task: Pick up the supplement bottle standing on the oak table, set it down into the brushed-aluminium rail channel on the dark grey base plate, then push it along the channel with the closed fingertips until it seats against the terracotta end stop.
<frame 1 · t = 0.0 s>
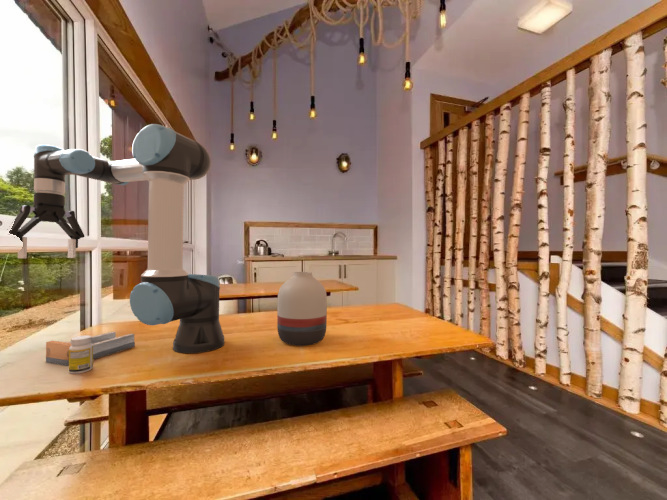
hand: (48, 258, 100), 28 cm above the table, tool pointing down, fingers open, 13 cm apart
supplement bottle: (80, 371, 77), on the table
vase: (301, 341, 105), on the table
rail: (93, 353, 90), on the table
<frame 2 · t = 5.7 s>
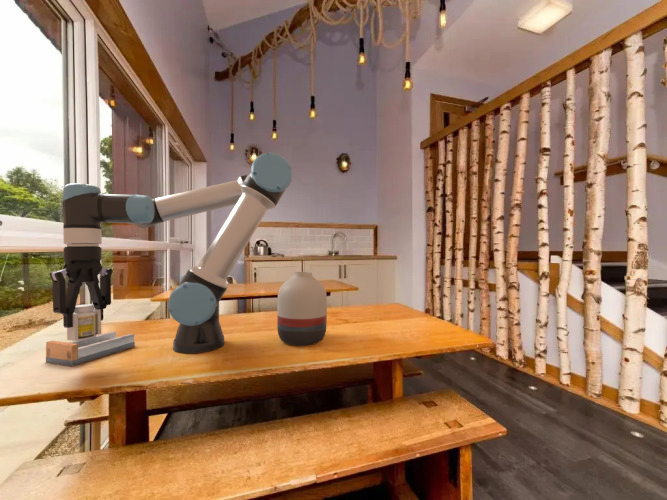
hand: (84, 336, 77), 8 cm above the table, tool pointing down, fingers closed on supplement bottle, 5 cm apart
supplement bottle: (84, 339, 77), point 8 cm above the table, touching gripper
everything else where it was.
when the fingers open (2 cm above the table, at t = 10.1 s): supplement bottle stays where it is, resting on rail.
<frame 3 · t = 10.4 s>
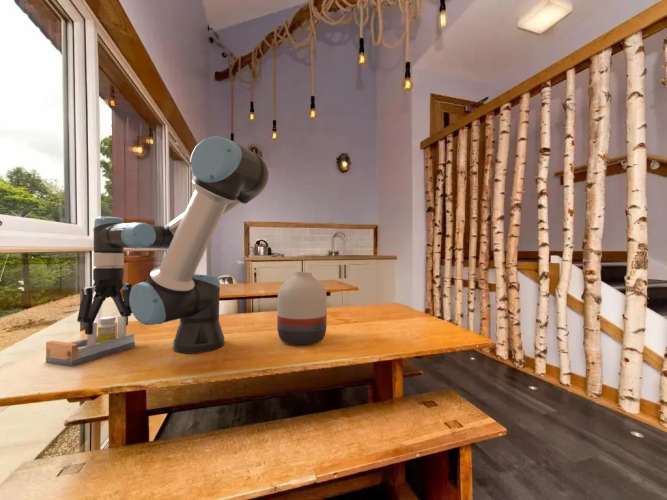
hand: (107, 340, 93), 3 cm above the table, tool pointing down, fingers open, 8 cm apart
supplement bottle: (107, 345, 93), point 1 cm above the table, touching rail
everything else where it was.
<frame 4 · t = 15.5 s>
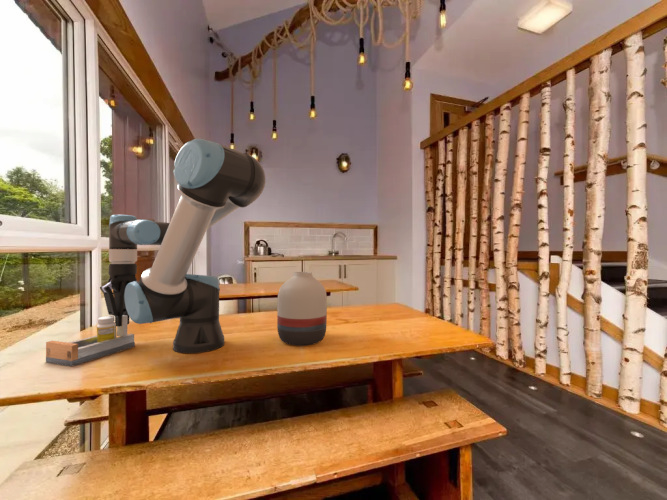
hand: (122, 335, 98), 3 cm above the table, tool pointing down, fingers closed
supplement bottle: (107, 345, 93), point 1 cm above the table, touching gripper, rail
everything else where it was.
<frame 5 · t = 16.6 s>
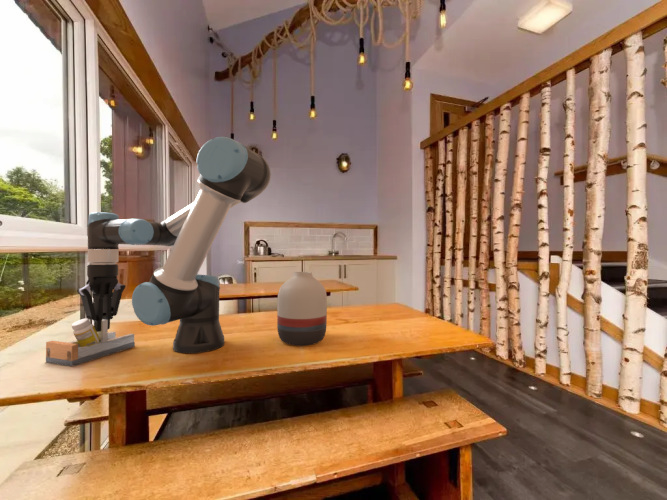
hand: (101, 341, 92), 3 cm above the table, tool pointing down, fingers closed
supplement bottle: (92, 346, 89), point 2 cm above the table, touching gripper
everything else where it was.
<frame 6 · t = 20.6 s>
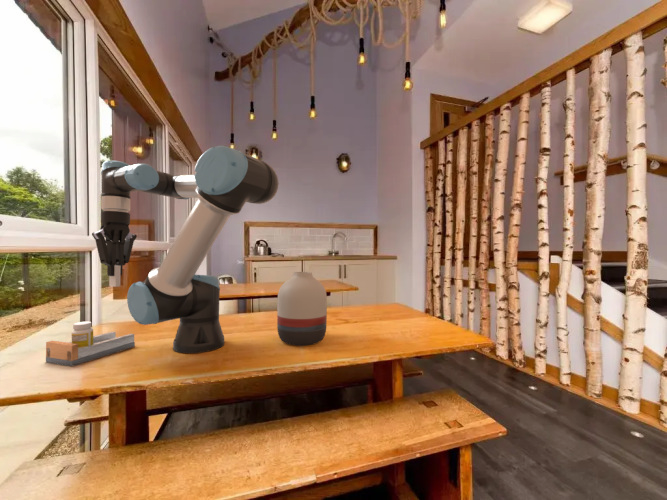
hand: (114, 286, 96), 19 cm above the table, tool pointing down, fingers closed
supplement bottle: (82, 353, 86), point 1 cm above the table, touching rail
everything else where it was.
at the end: supplement bottle 1.4 cm from the target spot, point 1.3 cm above the table; supplement bottle tilted 1°; supplement bottle touching rail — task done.
